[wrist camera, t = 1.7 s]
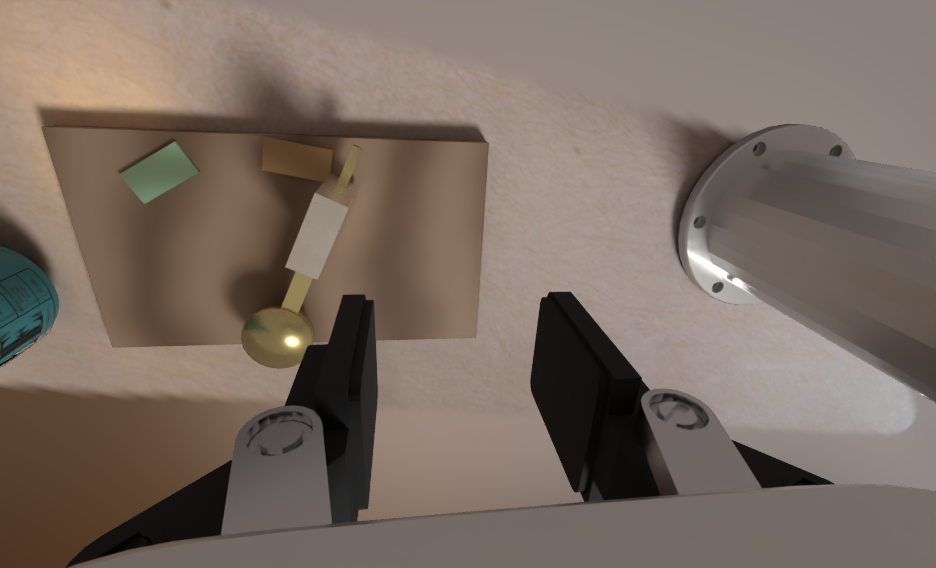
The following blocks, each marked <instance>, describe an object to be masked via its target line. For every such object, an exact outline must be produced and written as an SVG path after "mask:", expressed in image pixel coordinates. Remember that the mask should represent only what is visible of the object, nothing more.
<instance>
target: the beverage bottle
mask: <svg viewBox="0 0 936 568" xmlns="http://www.w3.org/2000/svg"><path fill="white" fill-rule="evenodd" d="M58 309H59V300H58V295H57V292H56V290H55V287H54V286H53V284H52V282H51V281H50V279H49V278H48V276H47V275H46V274H45V273H44V272H43V271H42V270H41V269H40V268H39V267H38V266H37V265H36V264H34V263H33V262H32V261H31V260H29V259H27V258H26V257H24V256H23V255H21V254H19V253H17V252H15V251H12V250H10V249H7V248H4V247H1V246H0V366H2V365H3V364H5V363H6V362H8V361H9V360H11V359H12V358H14V357H15V356H16V357H17V355H18V354H16V355H14V354H15V353H17V352H18V351H20V350H21V349H23V348H24V347H27V345H28V344H31V343H32V342H34V343H35V342H36V341H37V339H38V338H39V337H40V336H41V335H45V334H44V333H46V332H47V330H48V329H49V328H50V327H51V325H52V326H53V324H52V323H54V320H55V318H56V317H57V314H58ZM51 328H52V327H51ZM50 330H51V329H50ZM50 330H49V331H50ZM46 335H47V334H46ZM46 335H45V336H46ZM45 336H44V337H45ZM38 341H39V340H38ZM29 346H30V345H29ZM30 347H31V346H30ZM30 347H29V348H30ZM26 350H27V349H26ZM21 351H23V350H21ZM23 352H24V351H23ZM23 352H21V353H23ZM19 355H20V353H19ZM11 356H13V357H11ZM10 357H11V358H10ZM16 357H15V358H16ZM8 358H10V359H8ZM7 359H8V360H7ZM5 360H6V361H5ZM12 360H13V359H12ZM4 361H5V362H4ZM9 362H10V361H9ZM6 364H7V363H6ZM6 364H5V365H6ZM2 367H3V366H2Z"/></svg>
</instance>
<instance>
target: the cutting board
mask: <svg viewBox="0 0 936 568" xmlns="http://www.w3.org/2000/svg"><path fill="white" fill-rule="evenodd" d="M42 130H43V134H44V137H45V140H46V143H47V146H48V149H49V152H50V155H51V158H52V162H53V165H54V168H55V171H56V174H57V177H58V180H59V183H60V186H61V190H62V193H63V196H64V199H65V202H66V205H67V208H68V211H69V214H70V218H71V221H72V224H73V227H74V230H75V233H76V236H77V239H78V242H79V246H80V249H81V252H82V255H83V258H84V261H85V264H86V267H87V270H88V274H89V277H90V280H91V283H92V286H93V289H94V292H95V295H96V298H97V302H98V305H99V308H100V311H101V314H102V317H103V320H104V323H105V326H106V329H107V333H108V336H109V339H110V342H111V345H112V348H113V347H150V346H187V345H224V344H242V341H241V332H242V329H243V327H244V325H245V323H246V322H247V320H248V319H249V317H250V316H251V315H252V313H253V312H254V311H256V310H257V309H258V308H260V307H262V306H264V305H267V304H272V303H283V301H284V299H285V297H286V294H287V292H288V289H289V287H290V284H291V282H292V279H293V277H294V274H295V272H296V271H294V270H291V269H289V268H286V267H285V266H286V264H287V261H288V259H289V256H290V254H291V251H292V249H293V246H294V244H295V241H296V239H297V236H298V234H299V231H300V228H301V226H302V223H303V221H304V218H305V216H306V213H307V211H308V208H309V206H310V203H311V201H312V198H313V196H314V193H315V192H316V191H317V189H318V188H319V187H320V186H321V185H322V184H323V183H324V181H325V180H326V179H327V178H328V177H329V176H330V174H331V173H332V174H334V175H336V176H338V177H340V175H341V173H342V170H343V168H344V165H345V163H346V160H347V158H348V156H349V153H350V151H351V148H352V146H353V144H355V145H357V146H359V147H361V148H363V149H362V152H361V154H360V157H359V159H358V161H357V164H356V166H355V168H354V171H353V173H352V176H351V178H350V180H349V182H351V183H353V184H356V185H358V189H357V191H356V193H355V196H354V198H353V200H352V203H351V205H350V207H349V210H348V212H347V214H346V217H345V219H344V221H343V224H342V226H341V228H340V231H339V233H338V235H337V238H336V240H335V242H334V245H333V247H332V249H331V251H330V254H329V256H328V258H327V260H326V262H325V265H324V267H323V269H322V271H321V273H320V276H319V278H318V280H317V279H314V278H313V280H312V282H311V285H310V287H309V289H308V292H307V294H306V296H305V299H304V301H303V304H302V306H301V308H300V310H302V311H303V312H304V313H305V314H306V315H307V316H308V317H309V318H310V320H311V321H312V323H313V326H314V330H315V338H314V341H313V342H329V340H330V336H331V333H332V330H333V326H334V323H335V319H336V316H337V313H338V309H339V306H340V303H341V299H342V296H343V295H349V294H365V296H366V300H374V312H375V336H376V340H409V339H447V338H476V334H477V319H478V303H479V287H480V272H481V256H482V241H483V225H484V210H485V194H486V178H487V163H488V147H489V143H488V142H486V141H462V140H435V139H408V138H381V137H354V136H327V135H300V134H273V133H246V132H219V131H192V130H165V129H138V128H111V127H84V126H57V125H55V126H45V127H42Z"/></svg>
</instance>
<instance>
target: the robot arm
mask: <svg viewBox="0 0 936 568" xmlns="http://www.w3.org/2000/svg"><path fill="white" fill-rule="evenodd" d="M678 244H679V255H680V258H681V262H682V265H683V268H684V270H685V272H686V273H687V275H688V277H689V278H690V280H691V281H692V282H693V283H694V284H695V285H696V286H697V287H698V288H699V289H700V290H702V291H703V292H705V293H706V294H707V295H709V296H710V297H712V298H714V299H717V300H719V301H721V302H724V303H728V304H734V305H755V304H760V303H766V304H768V305H770V306H771V307H773V308H775V309H776V310H778V311H780V312H782V313H783V314H785V315H787V316H788V317H790V318H792V319H793V320H795V321H797V322H799V323H800V324H802V325H804V326H805V327H807V328H809V329H810V330H812V331H814V332H815V333H817V334H819V335H821V336H822V337H824V338H826V339H827V340H829V341H831V342H832V343H834V344H836V345H838V346H839V347H841V348H843V349H844V350H846V351H848V352H849V353H851V354H853V355H854V356H856V357H858V358H860V359H861V360H863V361H865V362H866V363H868V364H870V365H871V366H873V367H875V368H876V369H878V370H880V371H882V372H883V373H885V374H887V375H888V376H890V377H892V378H893V379H895V380H897V381H899V382H900V383H902V384H904V385H905V386H907V387H909V388H910V389H912V390H914V391H915V392H917V393H919V394H921V395H922V396H924V397H926V398H927V399H929V400H932V401H933V402H934V403H936V172H932V171H925V170H918V169H912V168H906V167H899V166H892V165H887V164H879V163H873V162H867V161H861V160H856V159H855V156H854V154H853V153H852V151H851V150H850V148H849V147H848V145H847V144H846V143H845V142H844V141H843V140H842V139H841V138H840V137H838V136H837V135H836V134H834V133H832V132H830V131H828V130H826V129H823V128H821V127H815V126H809V125H797V124H796V125H795V124H784V125H778V126H772V127H768V128H765V129H763V130H760V131H757V132H755V133H752V134H750V135H748V136H747V137H745V138H743V139H741V140H740V141H738V142H736V143H735V144H733V145H732V146H731V147H729V148H728V149H727V150H726V151H725V152H723V153H722V154H721V155H720V156H718V157H717V159H716V160H715V161H714V162H713V163H712V164H711V165H710V166H709V167H708V168H707V169H706V171H705V172H704V173H703V175H702V176H701V178H700V179H699V181H698V182H697V183H696V185H695V186H694V188H693V190H692V192H691V194H690V196H689V198H688V200H687V202H686V205H685V207H684V211H683V214H682V218H681V221H680V227H679V236H678ZM641 379H642V378H641V376H640V375H639V374H638V373H637V372H636V370H635V369H634V368H633V367H632V365H631V364H630V363H629V362H628V361H627V359H626V358H625V357H624V356H623V355H622V353H621V352H620V351H619V350H618V348H617V347H616V346H615V345H614V344H613V342H612V341H611V340H610V339H609V338H608V336H607V335H606V334H605V333H604V332H603V330H602V329H601V328H600V327H599V325H598V324H597V323H596V322H595V321H594V319H593V318H592V317H591V316H590V315H589V313H588V312H587V311H586V310H585V308H584V307H583V306H582V305H581V304H580V302H579V301H578V300H577V299H576V298H575V296H574V295H573V294H572V293H571V292H549V294H548V296H547V297H543V298H542V299H541V302H540V309H539V317H538V325H537V333H536V340H535V348H534V356H533V364H532V372H531V381H530V384H531V392H532V394H533V397H534V399H535V402H536V404H537V406H538V409H539V411H540V413H541V416H542V418H543V421H544V423H545V425H546V427H547V430H548V432H549V435H550V437H551V440H552V442H553V444H554V447H555V449H556V451H557V454H558V456H559V459H560V461H561V463H562V466H563V468H564V470H565V473H566V475H567V478H568V480H569V482H570V485H571V487H572V489H573V490H574V492H581V495H582V497H583V500H584V502H578V503H566V504H553V505H541V506H529V507H518V508H507V509H494V510H483V511H470V512H458V513H449V514H436V515H425V516H413V517H403V518H392V519H380V520H369V521H357V517H358V510H362V509H368V504H369V503H368V502H369V491H370V479H371V468H372V456H373V445H374V433H375V422H376V421H375V420H376V411H377V398H378V384H377V360H376V336H375V312H374V300H366V296H365V294H349V295H343V296H342V299H341V303H340V306H339V309H338V313H337V316H336V319H335V323H334V326H333V330H332V333H331V336H330V340H329V343H328V344H325V345H308V347H307V348H306V351H305V353H304V356H303V359H302V361H301V364H300V367H299V369H298V372H297V375H296V377H295V380H294V383H293V385H292V388H291V391H290V393H289V396H288V399H287V401H286V404H285V406H281V407H277V408H273V409H270V410H267V411H265V412H263V413H260V414H258V415H257V416H255V417H253V418H252V419H251V420H249V421H248V422H247V423H246V424H245V425H244V426H243V427H242V428H241V429H240V431H239V432H238V435H237V437H236V440H235V445H234V452H233V458H232V460H231V461H229V462H227V463H226V464H224V465H222V466H220V467H219V468H217V469H215V470H213V471H212V472H210V473H208V474H207V475H205V476H203V477H201V478H200V479H198V480H196V481H195V482H193V483H191V484H189V485H188V486H186V487H184V488H183V489H181V490H179V491H178V492H176V493H174V494H172V495H171V496H169V497H167V498H166V499H164V500H162V501H160V502H159V503H157V504H155V505H154V506H152V507H150V508H148V509H147V510H145V511H143V512H142V513H140V514H138V515H136V516H135V517H133V518H131V519H130V520H128V521H126V522H124V523H123V524H121V525H119V526H118V527H116V528H114V529H112V530H111V531H109V532H107V533H106V534H104V535H102V536H101V537H99V538H98V539H97V540H95V541H94V542H92V543H91V544H89V545H88V546H86V547H85V548H84V549H83V550H82V551H81V552H80V553H79V554H78V555H77V556H76V557H75V558H74V559H72V560H71V561H70V562H69V564H68V565H67V567H66V568H936V491H931V490H926V489H919V488H911V487H903V486H894V485H881V484H834V483H832V482H830V481H828V480H826V479H824V478H821V477H819V476H816V475H814V474H812V473H809V472H807V471H805V470H802V469H800V468H797V467H795V466H793V465H790V464H788V463H785V462H783V461H781V460H778V459H776V458H773V457H771V456H769V455H766V454H764V453H762V452H759V451H757V450H754V449H752V448H750V447H747V446H745V445H742V444H740V443H738V442H736V441H733V440H731V439H730V437H729V436H728V434H727V432H726V431H725V429H724V428H723V426H722V425H721V423H720V421H719V420H718V418H717V417H716V415H715V414H714V413H713V411H712V410H711V409H710V408H709V407H708V406H707V405H706V404H704V403H703V402H702V401H700V400H699V399H697V398H695V397H693V396H691V395H689V394H686V393H683V392H680V391H677V390H671V389H654V390H650V389H649V388H648V387H647V386H646V385H645V383H644V382H643V381H642V380H641Z"/></svg>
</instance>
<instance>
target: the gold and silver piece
mask: <svg viewBox="0 0 936 568" xmlns="http://www.w3.org/2000/svg"><path fill="white" fill-rule="evenodd" d="M362 149H363V148H361V147H359V146H357V145H355V144H353V146H352V148H351V151H350V153H349V156H348V158H347V160H346V163H345V165H344V168H343V170H342V173H341V175H340V177H338V176H336V175H334V174H332V173H331V174H330V176H329V177H328V178H327V179H326V180H325V181H324V183H323V184H322V185H321V186H320V187H319V188H318V189H317V191H316V192H315V193H314V196H313V198H312V201H311V203H310V206H309V208H308V211H307V213H306V216H305V218H304V221H303V223H302V226H301V228H300V231H299V234H298V236H297V239H296V241H295V244H294V246H293V249H292V251H291V254H290V256H289V259H288V261H287V264H286V266H285V267H286V268H289V269H291V270H294V271H296V272H295V274H294V277H293V279H292V282H291V284H290V287H289V289H288V292H287V294H286V297H285V299H284V301H283V303H272V304H267V305H264V306H262V307H260V308H258V309H257V310H256V311H254V312H253V313H252V315H251V316H250V317H249V319H248V320H247V322H246V323H245V325H244V327H243V329H242V332H241V341H242V345H243V348H244V349H245V351H246V353H247V354H248V355H249V356H250V357H251V358H252V359H253V360H254V361H256V362H258V363H259V364H261V365H264V366H267V367H271V368H288V367H292V366H295V365H297V364H299V363H300V362H301V361H302V359H303V356H304V353H305V351H306V348H307V347H308V345H312V344H313V341H314V338H315V330H314V326H313V323H312V321H311V320H310V318H309V317H308V316H307V315H306V314H305V313H304V312H303V311H302V310H300V308H301V306H302V304H303V301H304V299H305V296H306V294H307V292H308V289H309V287H310V285H311V282H312V280H313V278H314V279H317V280H318V278H319V276H320V273H321V271H322V269H323V267H324V265H325V262H326V260H327V258H328V256H329V254H330V251H331V249H332V247H333V245H334V242H335V240H336V238H337V235H338V233H339V231H340V228H341V226H342V224H343V221H344V219H345V217H346V214H347V212H348V210H349V207H350V205H351V203H352V200H353V198H354V196H355V193H356V191H357V189H358V185H356V184H353V183H351V182H349V180H350V178H351V176H352V173H353V171H354V168H355V166H356V164H357V161H358V159H359V157H360V154H361V152H362Z"/></svg>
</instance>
